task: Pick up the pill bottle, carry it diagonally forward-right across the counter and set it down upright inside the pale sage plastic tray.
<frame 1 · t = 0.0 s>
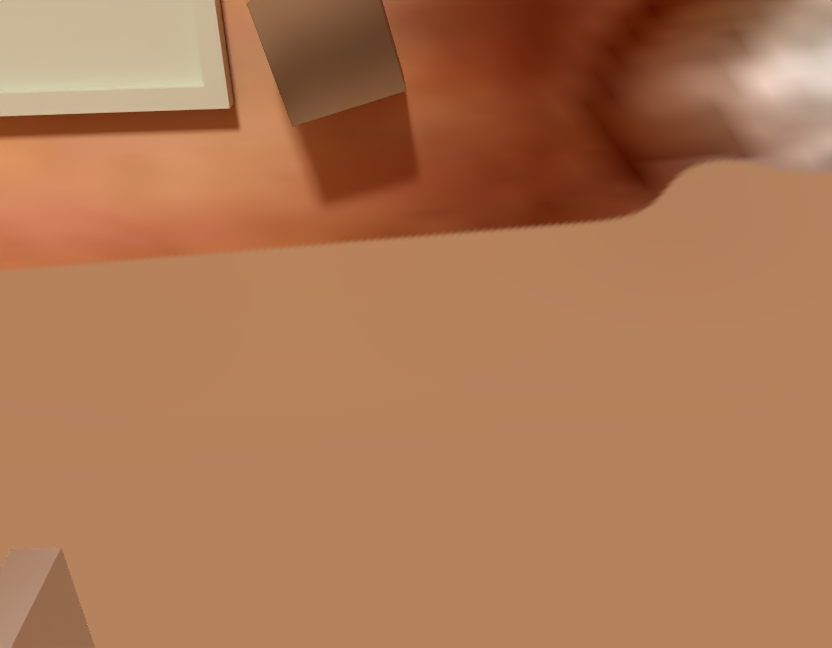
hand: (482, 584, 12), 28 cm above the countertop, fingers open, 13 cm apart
walnut cube: (334, 32, 34), on the countertop
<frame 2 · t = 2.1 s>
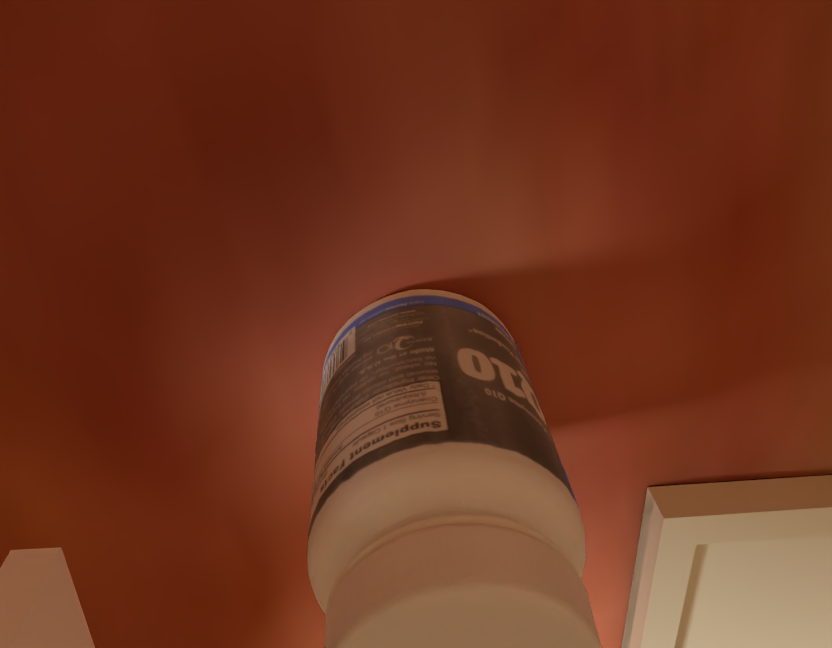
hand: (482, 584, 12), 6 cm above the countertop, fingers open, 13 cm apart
tray: (812, 624, 23), on the countertop
pill bottle: (420, 368, 18), on the countertop
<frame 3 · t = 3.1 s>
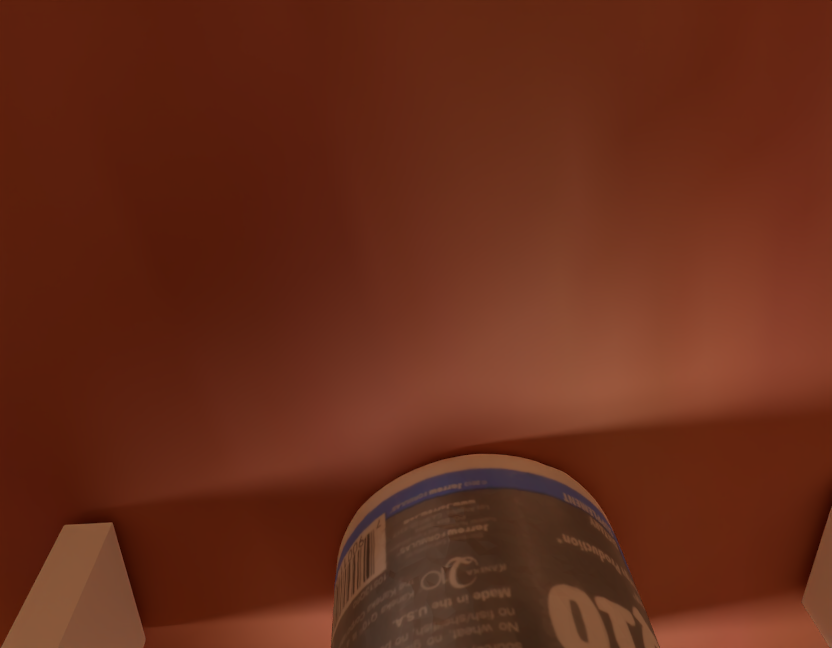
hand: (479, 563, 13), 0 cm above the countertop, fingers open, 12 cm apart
pill bottle: (472, 545, 13), on the countertop
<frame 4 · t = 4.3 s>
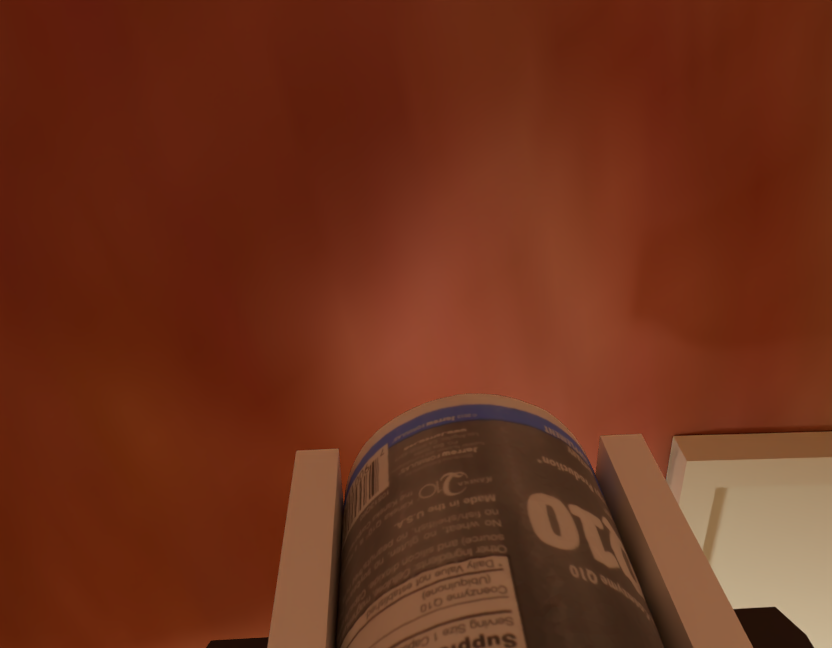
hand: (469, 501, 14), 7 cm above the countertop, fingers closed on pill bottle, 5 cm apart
tray: (825, 575, 25), on the countertop
pill bottle: (466, 481, 14), point 7 cm above the countertop, touching gripper
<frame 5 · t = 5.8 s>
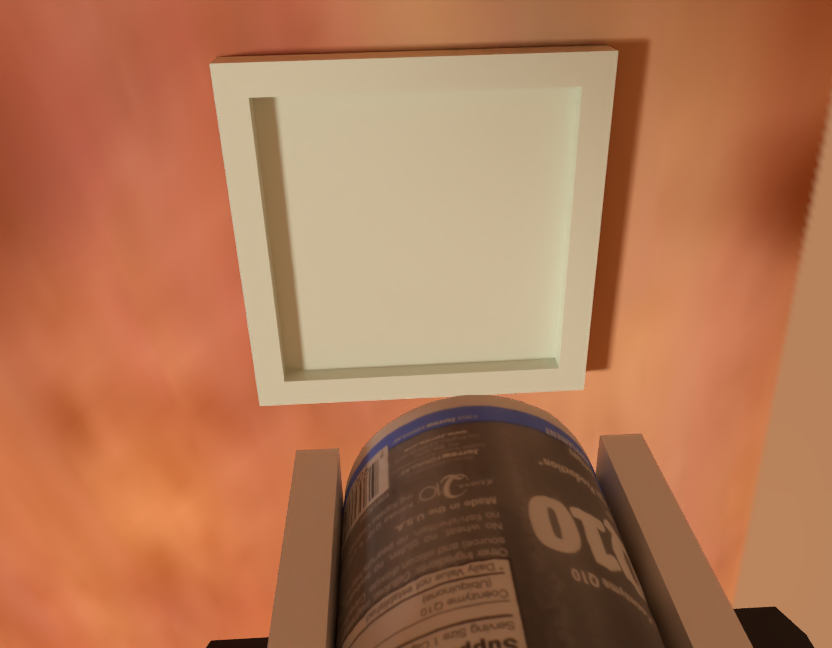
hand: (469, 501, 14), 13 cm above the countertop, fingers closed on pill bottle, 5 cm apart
tray: (417, 233, 26), on the countertop
pill bottle: (466, 483, 14), point 13 cm above the countertop, touching gripper
when the fingers open (1 cm above the countertop, at t = 7.4 s): pill bottle stays where it is, resting on tray.
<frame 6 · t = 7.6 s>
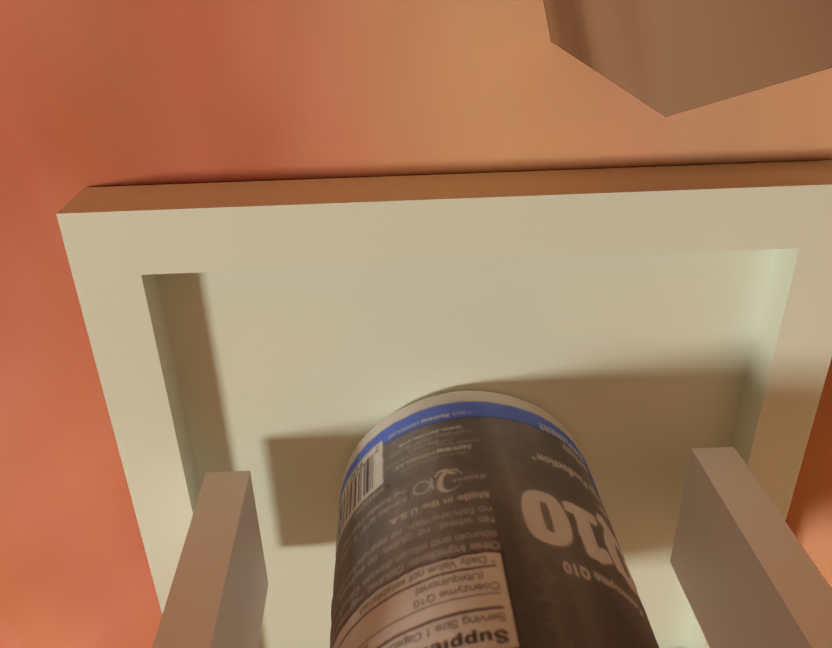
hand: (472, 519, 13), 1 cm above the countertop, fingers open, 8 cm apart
tray: (464, 470, 15), on the countertop
pill bottle: (461, 478, 14), resting on tray
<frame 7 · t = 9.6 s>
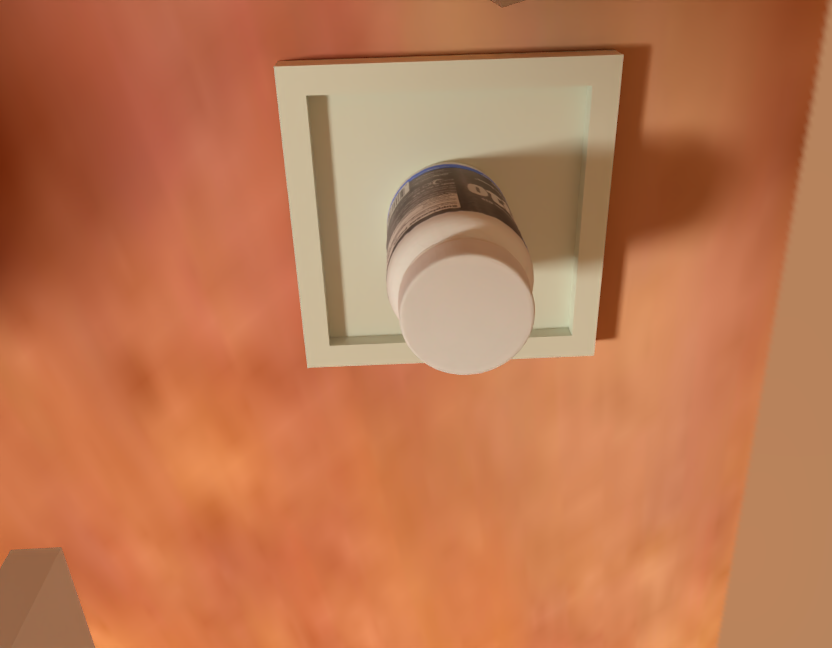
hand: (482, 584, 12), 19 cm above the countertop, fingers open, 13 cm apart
tray: (448, 215, 29), on the countertop
pill bottle: (446, 217, 29), resting on tray
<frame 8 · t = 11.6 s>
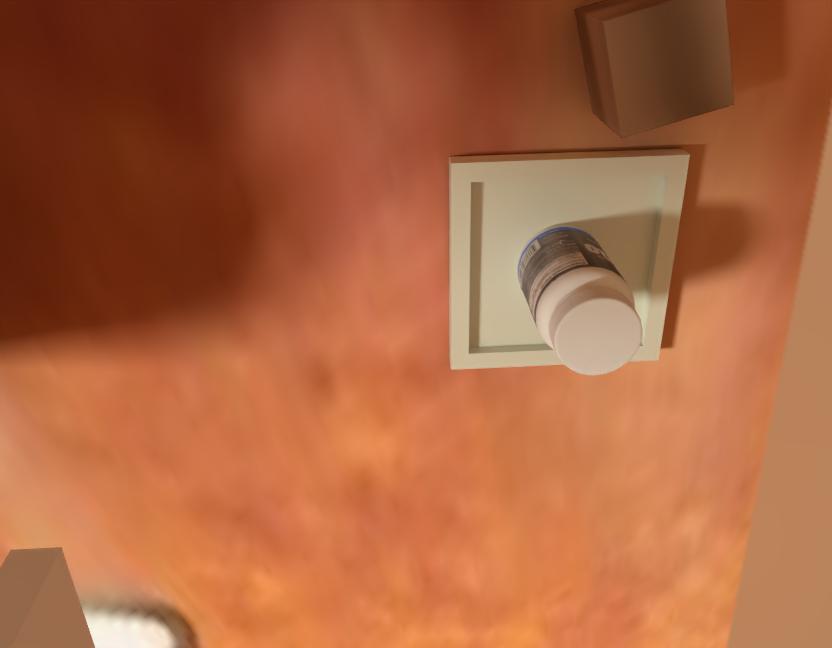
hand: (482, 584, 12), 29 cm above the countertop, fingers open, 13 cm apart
tray: (557, 260, 41), on the countertop
walnut cube: (634, 47, 36), on the countertop
pill bottle: (557, 262, 41), resting on tray
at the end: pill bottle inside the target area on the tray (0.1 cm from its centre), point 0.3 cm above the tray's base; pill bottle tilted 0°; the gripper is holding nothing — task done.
